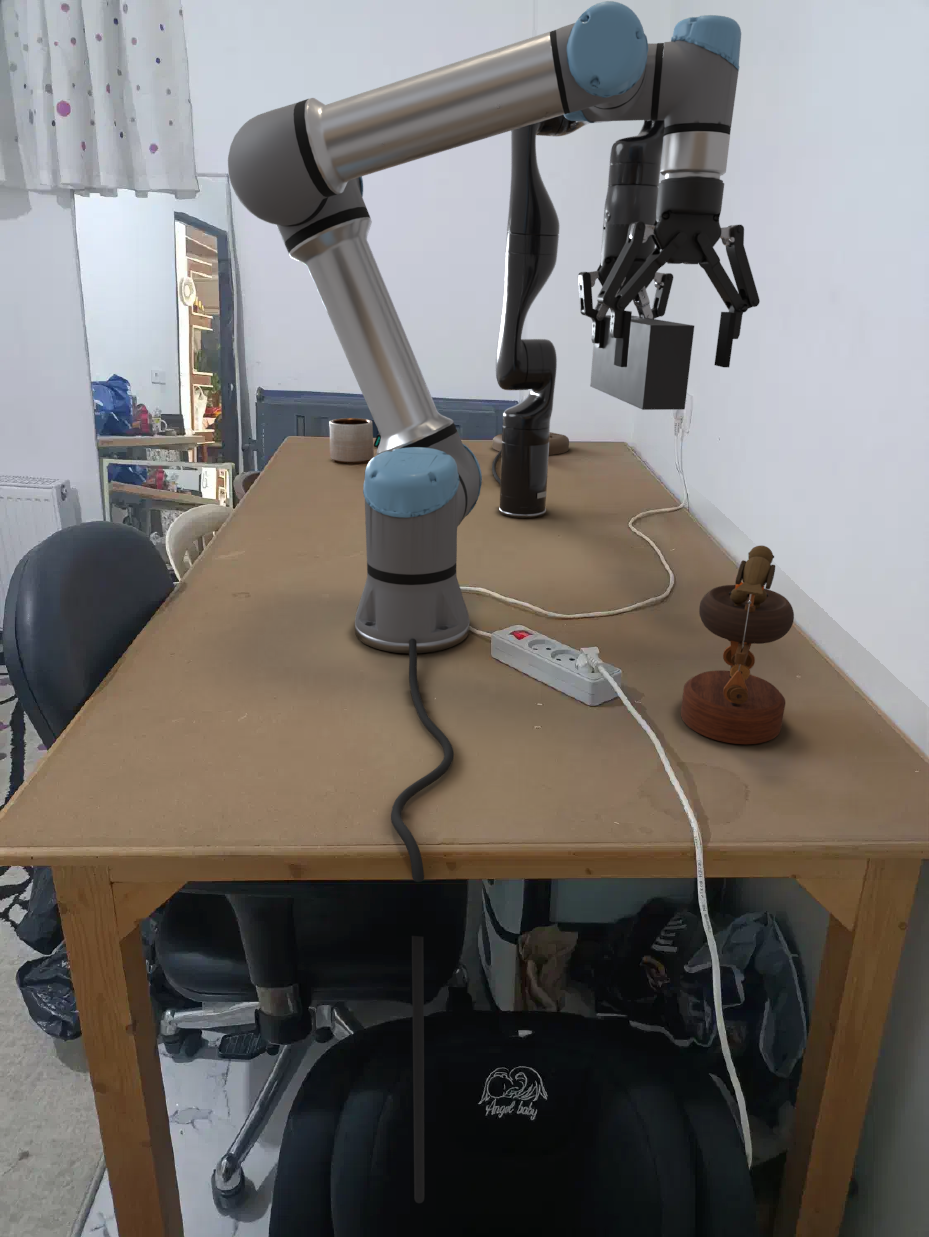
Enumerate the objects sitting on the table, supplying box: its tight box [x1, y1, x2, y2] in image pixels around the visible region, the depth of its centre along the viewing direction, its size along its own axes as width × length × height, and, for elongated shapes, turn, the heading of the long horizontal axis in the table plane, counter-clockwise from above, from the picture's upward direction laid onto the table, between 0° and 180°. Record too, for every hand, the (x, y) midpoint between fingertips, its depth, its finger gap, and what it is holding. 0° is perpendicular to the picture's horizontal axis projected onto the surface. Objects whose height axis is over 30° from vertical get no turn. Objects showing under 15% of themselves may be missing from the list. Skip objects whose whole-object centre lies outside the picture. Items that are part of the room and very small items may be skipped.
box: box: [589, 314, 695, 411], centre depth 119 cm, size 23×6×10 cm, turn 9°
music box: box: [680, 545, 795, 745], centre depth 89 cm, size 15×11×20 cm
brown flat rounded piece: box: [491, 431, 570, 456], centre depth 224 cm, size 21×28×4 cm
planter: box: [328, 417, 375, 464], centre depth 212 cm, size 11×11×10 cm
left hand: (671, 366), depth 107 cm, fingers open, 13 cm apart
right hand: (619, 347), depth 126 cm, fingers closed on box, 6 cm apart
